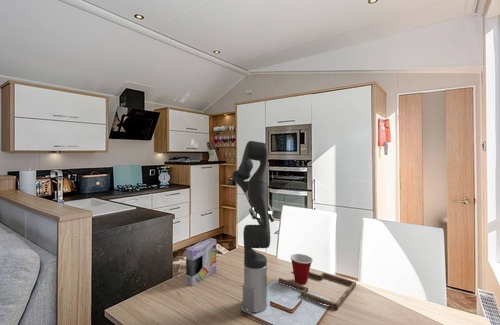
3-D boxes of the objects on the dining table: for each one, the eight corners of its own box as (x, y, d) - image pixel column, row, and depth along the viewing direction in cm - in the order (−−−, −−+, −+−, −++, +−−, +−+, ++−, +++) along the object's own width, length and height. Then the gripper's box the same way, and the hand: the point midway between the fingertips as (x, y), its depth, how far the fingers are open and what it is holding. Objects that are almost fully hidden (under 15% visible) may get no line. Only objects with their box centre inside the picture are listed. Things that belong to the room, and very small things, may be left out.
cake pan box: (191, 287, 120) (191, 250, 120) (183, 284, 123) (183, 248, 122) (217, 271, 137) (217, 238, 136) (210, 269, 139) (209, 237, 139)
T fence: (336, 310, 102) (337, 305, 102) (274, 286, 121) (274, 281, 121) (355, 286, 121) (356, 282, 121) (298, 268, 140) (298, 265, 140)
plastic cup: (315, 287, 120) (315, 262, 120) (291, 287, 120) (292, 261, 120) (310, 276, 131) (310, 253, 131) (288, 276, 131) (288, 253, 131)
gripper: (247, 196, 140) (261, 222, 133) (266, 192, 149) (280, 216, 142) (241, 203, 144) (254, 229, 137) (259, 199, 154) (273, 223, 147)
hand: (267, 222), depth 140 cm, fingers open, 8 cm apart
